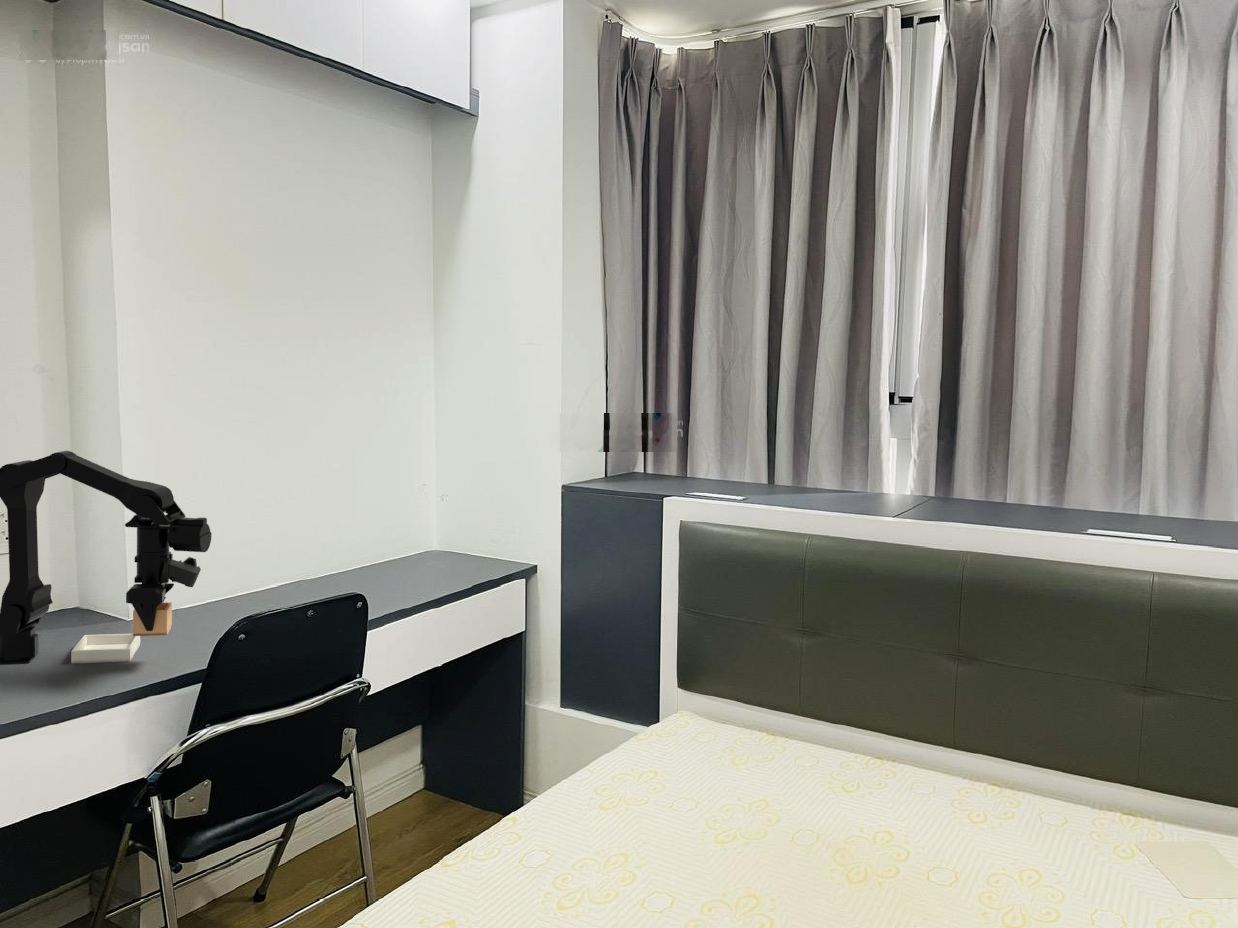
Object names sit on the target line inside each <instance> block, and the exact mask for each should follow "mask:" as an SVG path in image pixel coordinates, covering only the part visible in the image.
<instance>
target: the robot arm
mask: <svg viewBox="0 0 1238 928" xmlns="http://www.w3.org/2000/svg"><path fill="white" fill-rule="evenodd" d="M57 475H63V476H65V477H67V478H70V479H71V480H74V481H76V482H79V483H80V484H82V485H85V486H87V487H90V488H92V489H95V490H97V491H99V492H102V493H104V494H106V495H109V496H110V497H113V498H115V499H116V500H117V501H119V502H120V503H121V504H122V505H123V506H124V507H125V508H126V509H128V510H129V511H131V512H132V513H134V515H133V517H131V519H130V520H128V521H127V522H126V523H125V524H124V526H125V528H136V555H135V556H134V563H136V575H135V577H134V578H133V579H134V580H133V581H134V584H133V585H132V586H131V587H130V588H129V589H128V590H127V591H126V593H125V602H126V604H131V605H132V607H133V610H134V609H135V610H136V612H137V614H138V616H139V618H140V619H141V621H142V623H143V625H144V627H145V629H146V631H152V630H153V627H154V622H155V617H156V612H157V607H158V605H160V604H161V603H163V602H165V600H166V599H167V596H166V595H167V593H168V592H170V591H171V590H172V589H173V587H174V586H175V584H174V583H178V584H181V585H184V586H185V587H187V588H193V587H195V584H196V583H197V579H198V578H199V575H200V572H201V570H202V569H201V566H199V565H198V566H197V559H196V558H194V557H190V556H188V557H187V558H186V559H184V560H180V559H179V560H176V559H173V556H174V555H173V553H172V551H170V549H171V548H172V550H173V551H175V552H191V553H193V552H194V553H206V552H208V550H209V549H210V546H211V543H212V532H211V528H210V525H209V524H208V518H207V517H186V515H185V513H184V511H182V509H181V507H180V506H179V505H178V504H177V502H176V501H175V499H174V498H175V497H174V495H173V491H172V490H171V488H169V487H167V486H165V485H162V484H159V483H155V482H150V481H147V480H146V481H144V480H138V479H134V478H129V477H127V476H125V475H122V474H121V473H118V472H116V471H114V470H111V469H109V468H107V467H104V466H103V465H99V464H97V463H95V462H92V461H91V460H88V459H86V458H83V457H82V456H79V455H77V454H76V453H74V452H73V451H71V450H62V451H56V452H53V453H51V454H50V455H48V456H44V457H40V458H38V459H34V460H29V459H27V460H22V461H17V462H12V463H7V464H4V465H2V466H1V467H0V499H1V501H2V502H3V504H4V506H5V507H6V511H7V512H6V513H7V541H8V542H7V543H8V569H9V570H8V571H9V573H8V574H9V579H8V580H9V581H8V584H7V585H6V586H5V589H4V591H3V593H2V597H1V604H0V665H24V664H30V663H31V662H32V661H33V660H34V659H35V658H36V656H37V655H39V654H40V653H39V650H40V649H39V644H40V643H39V634H38V633H36V625H38V624H40V621H41V620H42V617H44V615H46V614H47V613H48V612H49V609H50V605H52V604H53V603H54V602H53V600H52V595H51V593H52V588H53V587H52V584H50V583H47V584H44V582H43V581H42V579H41V578H40V575H39V545H38V544H39V540H38V515H37V514H38V512H37V509H38V504H39V502H40V499H41V498H42V495H43V493H44V490H45V484H46V479H49V478H51V477H52V478H53V477H55V476H57ZM170 581H171V583H170Z"/></svg>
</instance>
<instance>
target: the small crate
mask: <svg viewBox="0 0 1238 928" xmlns="http://www.w3.org/2000/svg"><path fill="white" fill-rule="evenodd" d="M172 624H173V602H172V601H171V602H167V601H166V602H165V601H163V603H161V604H160V605H158V607H157V612H156V617H155V622H154V627H153V630H152V631H146V629H145V627H144V625H143V623H142V621H141V619H140V618H139V616H138V614H137V612H136V610H135V609H134V608H133V612H132V634H133V636H140V637H152V636H153V637H155V636H157V637H158V636H167V635H168V634H169V632H170V631H171V628H172V626H173V625H172Z"/></svg>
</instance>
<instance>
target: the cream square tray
mask: <svg viewBox="0 0 1238 928" xmlns="http://www.w3.org/2000/svg"><path fill="white" fill-rule="evenodd" d="M140 646H141V636H133V633H113V634H112V633H111V634H109V633H107V634H84V635H83V637H82V638H81V639H80V640H79V641H78V642H77V644H76V645H75V646H74V647H73V649H72V650H71V654H70V657H71V662H70V663H71V664H91V663H92V664H95V663H96V664H97V663H121V662H122V663H123V662H131V661H132V659H133V657H134V656H135V654H136V653H137V651H138V649H139V648H140Z"/></svg>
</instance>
